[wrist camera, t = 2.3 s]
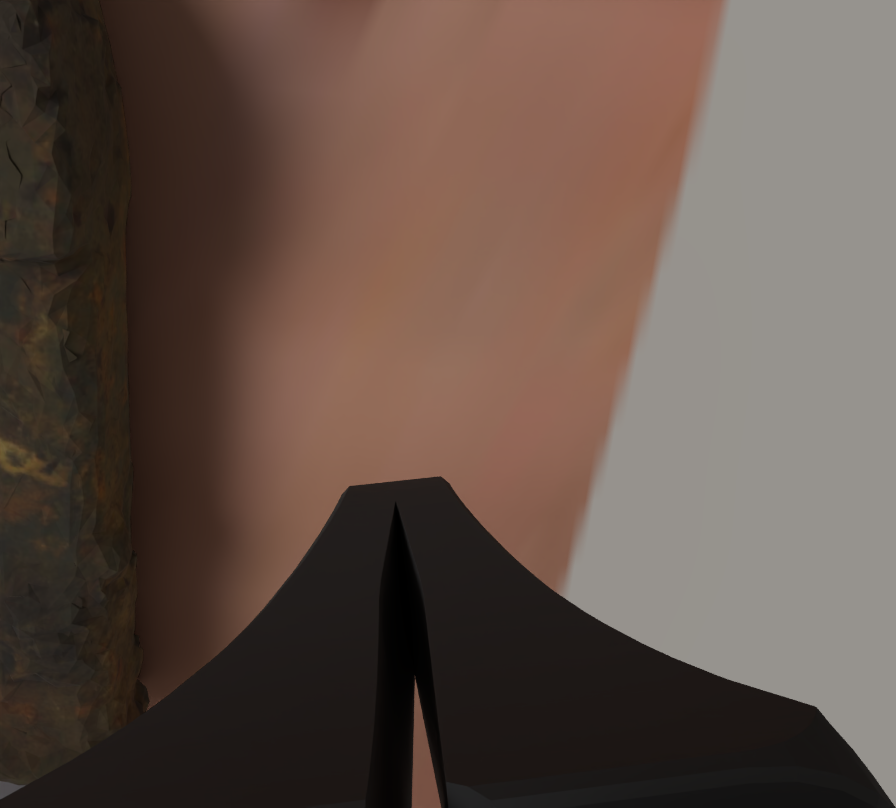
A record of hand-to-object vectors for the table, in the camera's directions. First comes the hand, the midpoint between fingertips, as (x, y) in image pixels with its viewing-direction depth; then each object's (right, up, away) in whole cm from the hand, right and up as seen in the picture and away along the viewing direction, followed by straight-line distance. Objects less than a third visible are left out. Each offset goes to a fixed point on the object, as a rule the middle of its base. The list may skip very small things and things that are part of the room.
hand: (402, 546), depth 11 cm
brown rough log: (-9, +3, +9) cm, 13 cm away
